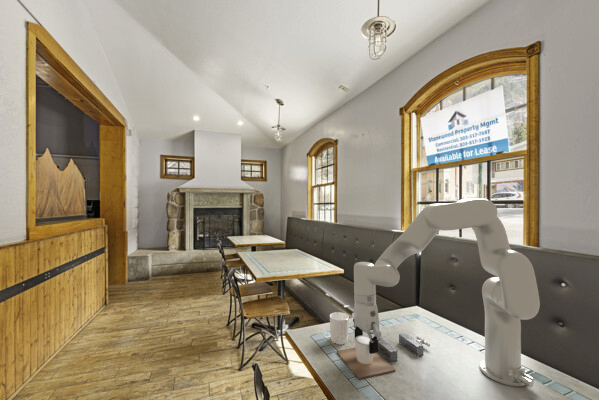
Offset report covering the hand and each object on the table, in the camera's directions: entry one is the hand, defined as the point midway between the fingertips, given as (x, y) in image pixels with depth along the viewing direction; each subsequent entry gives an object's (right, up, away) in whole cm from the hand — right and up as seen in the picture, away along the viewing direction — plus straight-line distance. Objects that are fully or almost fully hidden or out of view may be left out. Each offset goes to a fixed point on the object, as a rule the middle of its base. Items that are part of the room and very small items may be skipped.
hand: (365, 345), depth 95 cm
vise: (+16, -6, +8) cm, 19 cm away
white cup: (-7, -6, +15) cm, 17 cm away
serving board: (-1, -6, 0) cm, 6 cm away
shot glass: (0, -5, 0) cm, 5 cm away
